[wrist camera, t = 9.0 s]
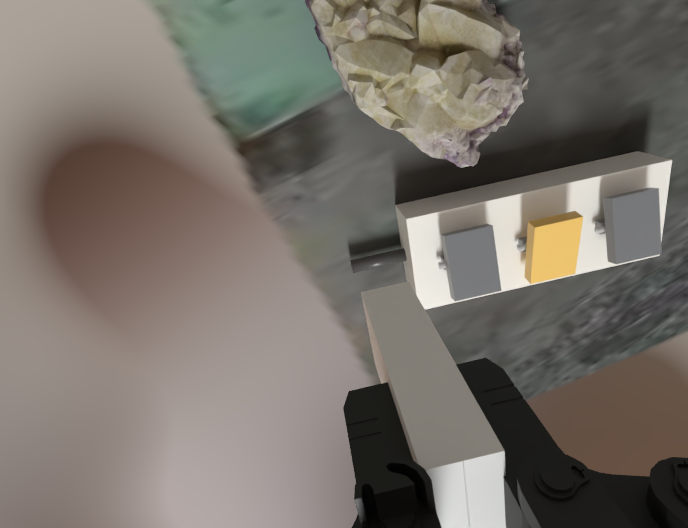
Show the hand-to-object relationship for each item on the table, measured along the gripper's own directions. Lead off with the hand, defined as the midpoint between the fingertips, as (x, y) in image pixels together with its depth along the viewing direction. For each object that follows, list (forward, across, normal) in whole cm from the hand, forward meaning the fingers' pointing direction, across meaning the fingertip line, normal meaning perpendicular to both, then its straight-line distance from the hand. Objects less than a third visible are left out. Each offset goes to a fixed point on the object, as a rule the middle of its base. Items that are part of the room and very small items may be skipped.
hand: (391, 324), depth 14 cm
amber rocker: (+22, +17, -10) cm, 29 cm away
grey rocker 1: (+22, +10, -10) cm, 26 cm away
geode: (+27, +9, +7) cm, 29 cm away
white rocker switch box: (+26, +15, -10) cm, 32 cm away
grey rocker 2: (+22, +24, -10) cm, 34 cm away
